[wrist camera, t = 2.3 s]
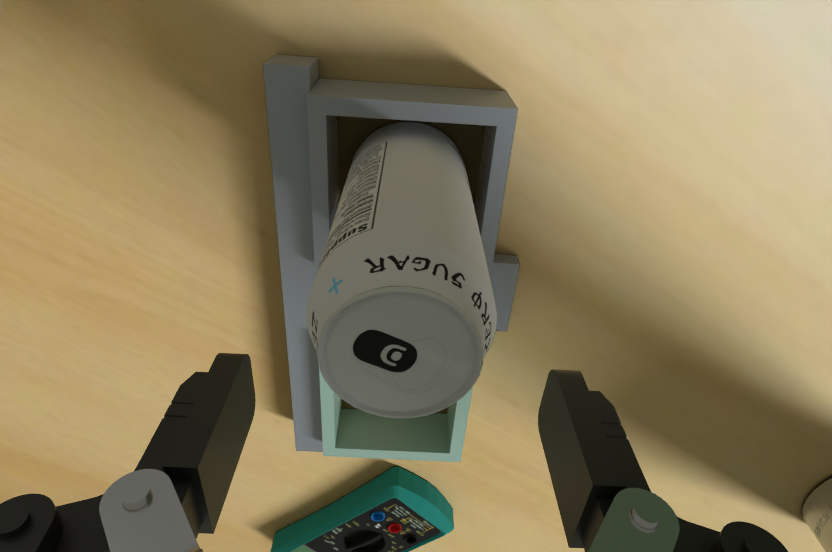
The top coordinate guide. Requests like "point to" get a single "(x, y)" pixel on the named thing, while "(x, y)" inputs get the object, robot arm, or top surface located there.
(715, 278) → the top surface
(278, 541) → the digital multimeter
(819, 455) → the top surface
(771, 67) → the top surface
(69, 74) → the top surface
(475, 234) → the energy drink can
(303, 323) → the rail
